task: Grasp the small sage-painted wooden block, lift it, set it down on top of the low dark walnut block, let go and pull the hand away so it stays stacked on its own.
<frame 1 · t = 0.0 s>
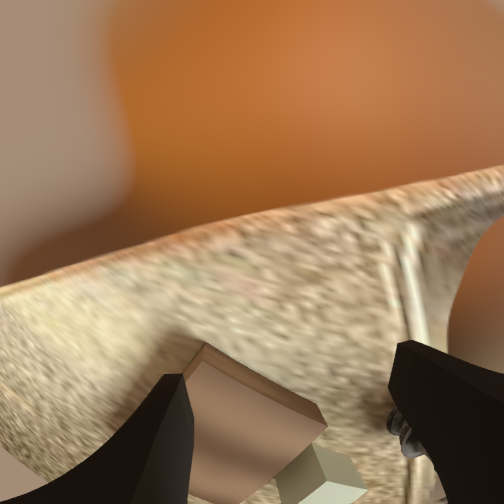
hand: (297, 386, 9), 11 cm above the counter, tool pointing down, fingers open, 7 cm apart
sage block: (313, 466, 21), on the counter
walnut block: (219, 429, 20), on the counter
grey stone chess piece: (409, 412, 21), on the counter
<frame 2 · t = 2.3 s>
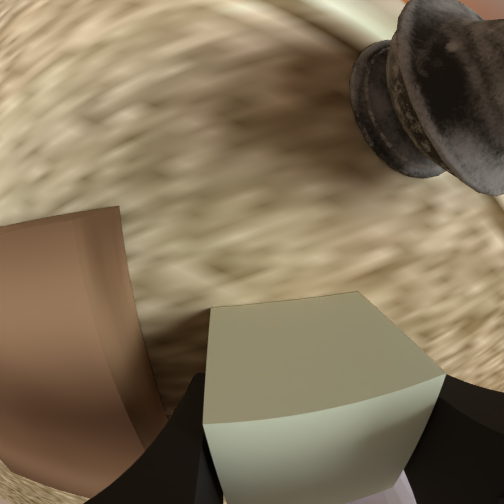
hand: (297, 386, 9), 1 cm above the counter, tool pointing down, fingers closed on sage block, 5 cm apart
sage block: (289, 362, 10), on the counter, touching gripper
walnut block: (47, 366, 9), on the counter
grey stone chess piece: (411, 106, 8), on the counter
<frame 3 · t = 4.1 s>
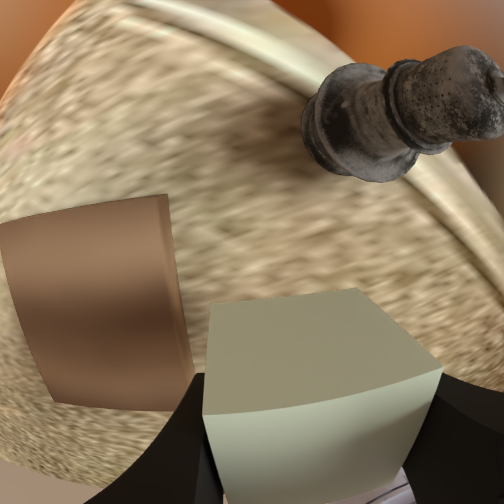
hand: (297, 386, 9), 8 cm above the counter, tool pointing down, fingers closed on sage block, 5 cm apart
sage block: (288, 358, 10), point 7 cm above the counter, touching gripper
walnut block: (103, 303, 16), on the counter
grey stone chess piece: (344, 130, 15), on the counter
when the fingers open (5 cm above the counter, at t = 6.2 s): sage block stays where it is, resting on walnut block.
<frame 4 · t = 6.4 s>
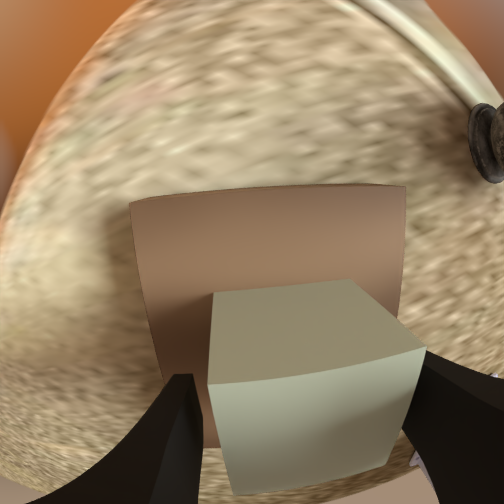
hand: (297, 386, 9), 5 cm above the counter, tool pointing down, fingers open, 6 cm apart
sage block: (285, 345, 11), point 3 cm above the counter, touching walnut block
walnut block: (272, 315, 14), on the counter
grey stone chess piece: (489, 143, 13), on the counter
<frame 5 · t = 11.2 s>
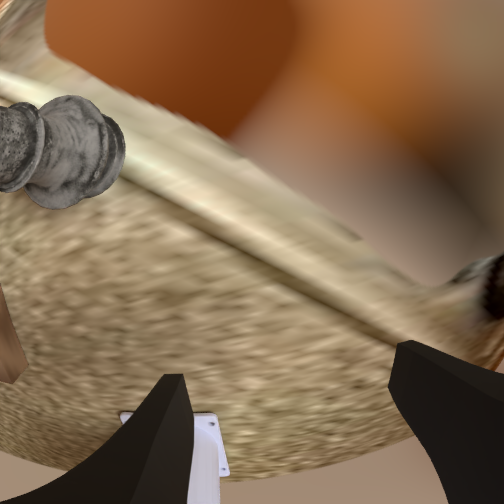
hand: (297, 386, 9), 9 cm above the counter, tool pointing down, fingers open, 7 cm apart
grey stone chess piece: (88, 155, 15), on the counter
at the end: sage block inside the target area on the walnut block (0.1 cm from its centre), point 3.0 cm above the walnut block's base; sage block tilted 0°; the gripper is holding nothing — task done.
